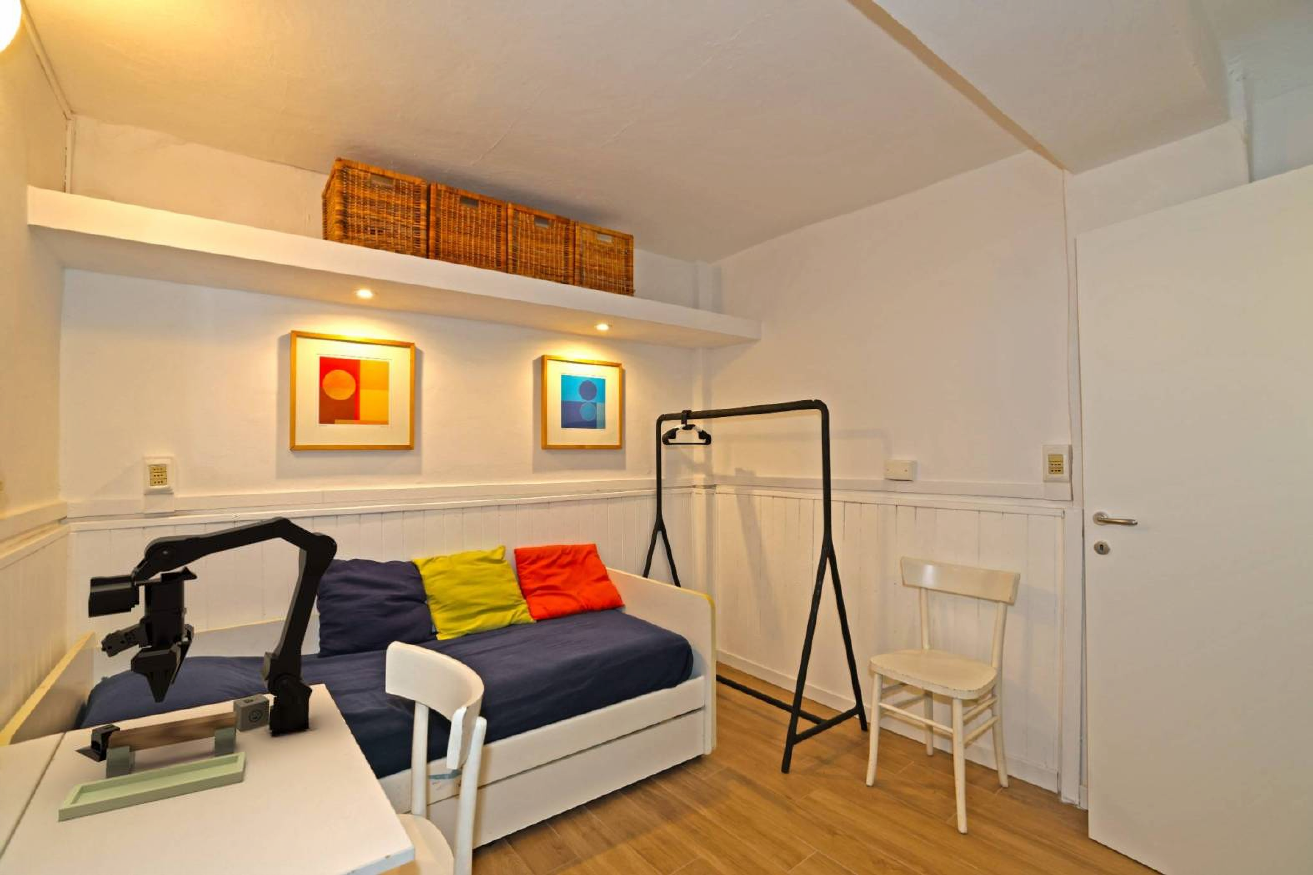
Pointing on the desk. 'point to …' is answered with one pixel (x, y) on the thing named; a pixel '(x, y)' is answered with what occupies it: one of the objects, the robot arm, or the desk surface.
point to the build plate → (99, 743)
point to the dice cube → (251, 712)
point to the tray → (152, 785)
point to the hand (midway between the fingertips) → (165, 692)
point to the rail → (172, 732)
